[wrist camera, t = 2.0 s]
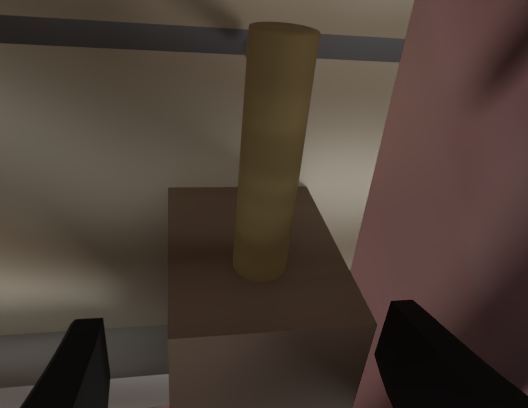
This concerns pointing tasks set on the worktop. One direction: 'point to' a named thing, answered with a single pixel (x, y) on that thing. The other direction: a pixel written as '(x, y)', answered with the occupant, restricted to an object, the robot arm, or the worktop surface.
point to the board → (154, 157)
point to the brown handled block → (263, 260)
